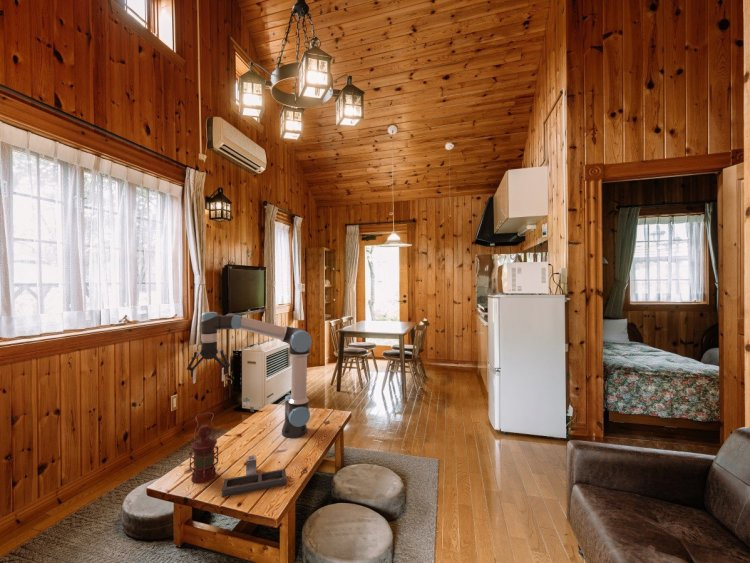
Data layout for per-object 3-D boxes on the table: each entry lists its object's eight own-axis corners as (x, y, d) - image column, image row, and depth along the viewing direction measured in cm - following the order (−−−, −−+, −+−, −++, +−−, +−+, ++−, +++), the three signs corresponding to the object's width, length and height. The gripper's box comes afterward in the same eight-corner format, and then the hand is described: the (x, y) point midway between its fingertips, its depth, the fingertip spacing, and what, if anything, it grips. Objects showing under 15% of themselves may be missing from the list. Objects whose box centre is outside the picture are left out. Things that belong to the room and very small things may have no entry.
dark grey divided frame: (284, 475, 157) (285, 468, 157) (286, 485, 149) (286, 478, 149) (224, 486, 148) (224, 479, 148) (222, 497, 140) (222, 490, 141)
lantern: (188, 487, 147) (189, 420, 148) (189, 473, 158) (190, 410, 159) (218, 480, 153) (219, 415, 153) (217, 467, 164) (218, 406, 164)
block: (256, 469, 162) (256, 454, 162) (256, 474, 158) (256, 458, 158) (246, 470, 161) (246, 455, 161) (246, 475, 157) (246, 460, 157)
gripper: (235, 339, 182) (234, 377, 181) (184, 341, 174) (183, 381, 173) (234, 341, 175) (233, 381, 174) (180, 343, 167) (180, 386, 166)
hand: (208, 381), depth 174 cm, fingers open, 13 cm apart
